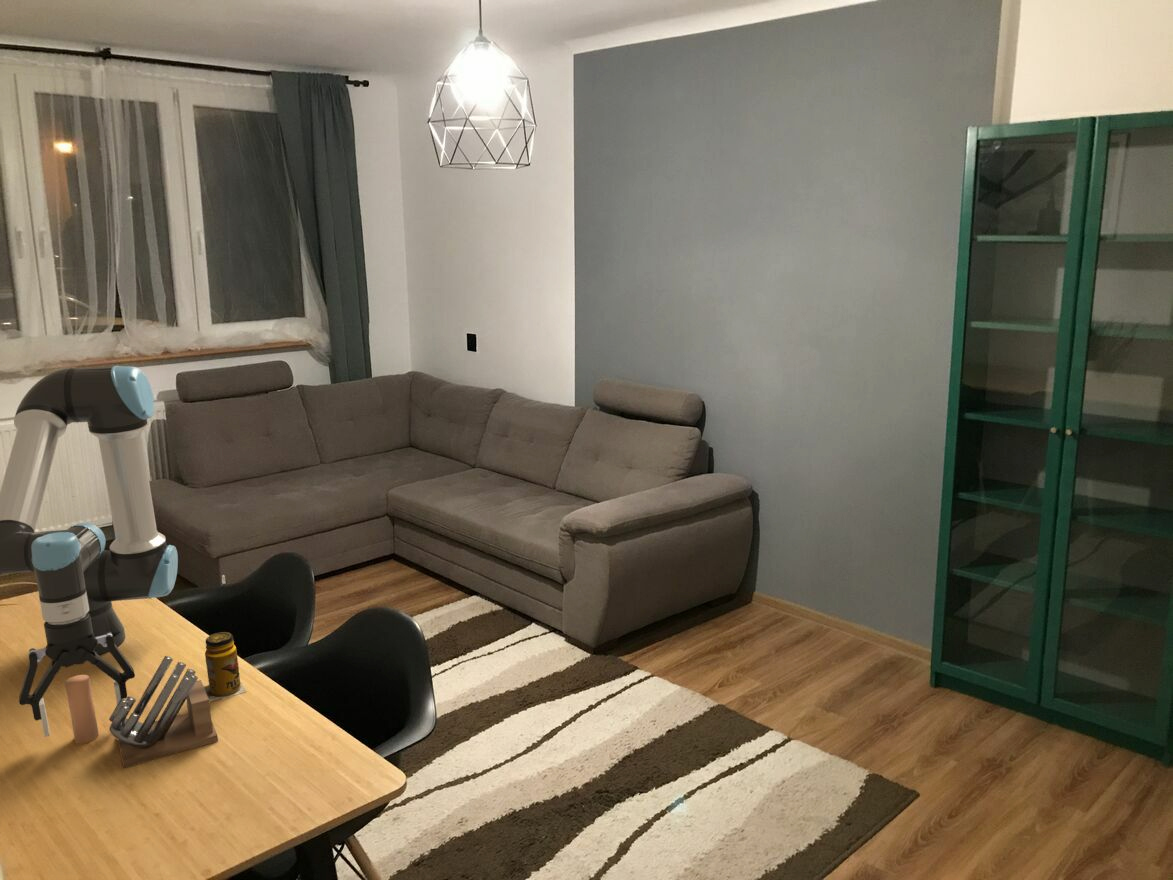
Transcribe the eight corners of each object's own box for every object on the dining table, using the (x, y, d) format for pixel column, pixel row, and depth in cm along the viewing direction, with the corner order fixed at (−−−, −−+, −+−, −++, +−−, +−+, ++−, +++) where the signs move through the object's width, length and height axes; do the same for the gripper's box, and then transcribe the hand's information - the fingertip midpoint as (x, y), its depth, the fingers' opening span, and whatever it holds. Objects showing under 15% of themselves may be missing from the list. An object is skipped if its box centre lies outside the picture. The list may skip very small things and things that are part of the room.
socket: (110, 740, 175) (99, 670, 171) (199, 717, 182) (190, 648, 179) (115, 767, 166) (103, 693, 163) (208, 740, 174) (199, 669, 170)
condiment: (246, 692, 192) (240, 638, 189) (203, 704, 187) (196, 649, 185) (237, 678, 198) (231, 626, 195) (195, 689, 193) (188, 636, 190)
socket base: (117, 737, 176) (111, 698, 174) (207, 712, 184) (202, 676, 182) (123, 767, 166) (117, 727, 164) (218, 740, 174) (213, 702, 172)
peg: (74, 736, 177) (64, 678, 174) (98, 729, 179) (88, 672, 176) (75, 745, 173) (65, 687, 171) (99, 739, 175) (89, 681, 173)
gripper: (-11, 640, 161) (10, 752, 166) (140, 608, 173) (156, 714, 178) (-10, 625, 167) (10, 733, 173) (136, 595, 179) (151, 697, 184)
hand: (84, 723), depth 175 cm, fingers open, 12 cm apart
